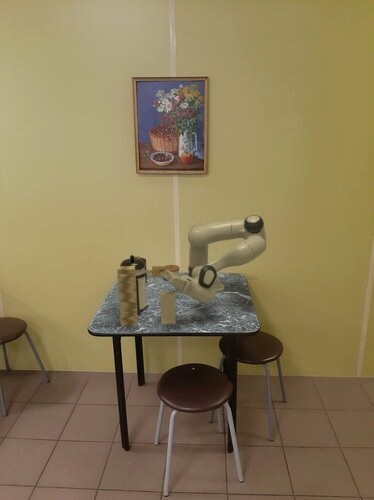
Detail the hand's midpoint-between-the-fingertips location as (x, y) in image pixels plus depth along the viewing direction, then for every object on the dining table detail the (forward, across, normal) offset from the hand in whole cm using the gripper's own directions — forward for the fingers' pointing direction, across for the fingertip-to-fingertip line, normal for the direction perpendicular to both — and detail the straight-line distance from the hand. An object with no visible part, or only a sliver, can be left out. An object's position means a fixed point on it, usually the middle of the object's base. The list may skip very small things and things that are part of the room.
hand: (158, 271), depth 167 cm
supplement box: (-5, -59, +17) cm, 61 cm away
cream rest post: (-17, -4, +20) cm, 26 cm away
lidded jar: (-22, -60, +6) cm, 64 cm away
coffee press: (-2, -19, +26) cm, 32 cm away
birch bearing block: (0, -6, +30) cm, 30 cm away
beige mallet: (+5, -1, +5) cm, 7 cm away
